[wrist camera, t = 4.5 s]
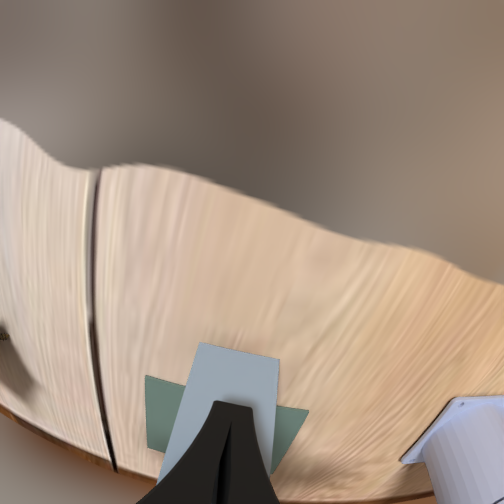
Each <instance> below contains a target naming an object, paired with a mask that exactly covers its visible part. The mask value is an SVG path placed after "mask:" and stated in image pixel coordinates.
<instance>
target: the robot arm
mask: <svg viewBox="0 0 504 504" xmlns="http://www.w3.org/2000/svg"><path fill="white" fill-rule="evenodd" d="M219 462H220V463H219ZM401 462H402V464H409V463H420V462H425V464H426V467H427V470H428V473H429V476H430V480H431V483H432V487H433V490H434V493H435V497H436V501H437V504H504V395H497V396H477V397H456V398H454V399H452V400H451V401H450V403H449V404H448V405H447V407H446V408H445V409H444V410H443V412H442V413H441V414H440V415H439V417H438V418H437V419H436V420H435V422H434V423H433V424H432V425H431V426H430V428H429V429H428V430H427V431H426V432H425V433H424V435H423V436H422V437H421V438H420V439H419V440H418V441H417V442H416V443H415V445H414V446H413V447H412V448H411V449H410V450H409V451H408V452H407V453H406V454H405V455H404V456H403V457H402V459H401ZM218 466H219V475H218V488H217V500H216V504H280V503H279V501H278V498H277V496H276V494H275V492H274V490H273V487H272V485H271V482H270V480H269V477H268V474H267V472H266V469H265V466H264V463H263V459H262V456H261V452H260V449H259V445H258V441H257V436H256V431H255V425H254V418H253V409H252V408H251V407H247V406H242V405H237V404H233V403H228V402H223V401H219V400H216V401H213V404H212V407H211V410H210V412H209V414H208V417H207V419H206V421H205V422H204V424H203V426H202V428H201V430H200V431H199V433H198V434H197V436H196V437H195V439H194V440H193V442H192V444H191V445H190V446H189V448H188V449H187V450H186V452H185V453H184V454H183V456H182V457H181V458H180V460H179V461H178V462H177V463H176V465H175V466H174V467H173V468H172V469H171V470H170V471H169V473H168V474H167V475H166V476H165V477H164V478H163V479H162V480H161V481H160V482H159V483H158V484H157V485H156V486H155V487H154V488H153V489H152V490H151V491H150V492H149V493H148V494H147V495H145V496H144V497H143V498H142V499H141V500H140V501H138V502H137V503H136V504H211V502H212V496H213V490H214V484H215V478H216V474H217V469H218Z"/></svg>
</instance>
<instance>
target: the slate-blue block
mask: <svg viewBox="0 0 504 504" xmlns="http://www.w3.org/2000/svg"><path fill="white" fill-rule="evenodd" d="M278 373H279V359H275V358H270V357H265V356H260V355H255V354H250V353H245V352H240V351H236V350H231V349H227V348H223V347H218V346H214V345H210V344H206V343H202V342H200V343H199V346H198V349H197V352H196V355H195V358H194V362H193V365H192V368H191V371H190V374H189V378H188V381H187V384H186V387H185V390H184V394H183V397H182V400H181V403H180V407H179V410H178V413H177V417H176V420H175V423H174V427H173V430H172V433H171V437H170V440H169V443H168V447H167V450H166V453H165V457H164V460H163V464H162V467H161V471H160V474H159V478H158V481H157V484H158V483H159V482H160V481H161V480H162V479H163V478H164V477H165V476H166V475H167V474H168V473H169V471H170V470H171V469H172V468H173V467H174V466H175V465H176V463H177V462H178V461H179V460H180V458H181V457H182V456H183V454H184V453H185V452H186V450H187V449H188V448H189V446H190V445H191V444H192V442H193V440H194V439H195V437H196V436H197V434H198V433H199V431H200V430H201V428H202V426H203V424H204V422H205V421H206V419H207V417H208V414H209V412H210V410H211V407H212V404H213V401H216V400H219V401H223V402H228V403H233V404H237V405H242V406H247V407H251V408H252V409H253V418H254V425H255V431H256V436H257V441H258V445H259V449H260V452H261V456H262V459H263V463H264V466H265V469H266V472H267V474H268V477H269V480H270V471H271V460H272V449H273V438H274V426H275V414H276V401H277V387H278ZM219 463H220V462H219ZM218 475H219V466H218V469H217V474H216V478H215V484H214V490H213V496H212V502H211V504H216V500H217V488H218Z"/></svg>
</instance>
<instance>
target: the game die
mask: <svg viewBox="0 0 504 504" xmlns="http://www.w3.org/2000/svg"><path fill="white" fill-rule="evenodd" d="M8 337H9V335H7V334H5V333H4V334H1V335H0V340H6V339H7V338H8Z"/></svg>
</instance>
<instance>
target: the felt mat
mask: <svg viewBox="0 0 504 504" xmlns="http://www.w3.org/2000/svg"><path fill="white" fill-rule="evenodd" d="M185 387H186V386H182V385H178V384H174V383H171V382H167V381H164V380H161V379H157V378H154V377H151V376H147V375H146V376H145V406H146V429H147V446H148V448H150V449H154V450H157V451H160V452H164V453H166V450H167V447H168V443H169V440H170V437H171V433H172V430H173V427H174V423H175V420H176V417H177V413H178V410H179V407H180V403H181V400H182V397H183V394H184V390H185ZM308 413H309V410H302V409H295V408H288V407H281V406H276V414H275V426H274V438H273V449H272V460H271V471H270V474H273V472H274V471H275V469H276V467H277V466H278V464H279V463H280V461H281V459H282V458H283V456H284V455H285V453H286V451H287V450H288V448H289V446H290V445H291V443H292V441H293V440H294V438H295V436H296V435H297V433H298V431H299V429H300V428H301V426H302V424H303V422H304V421H305V419H306V417H307V415H308Z"/></svg>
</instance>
